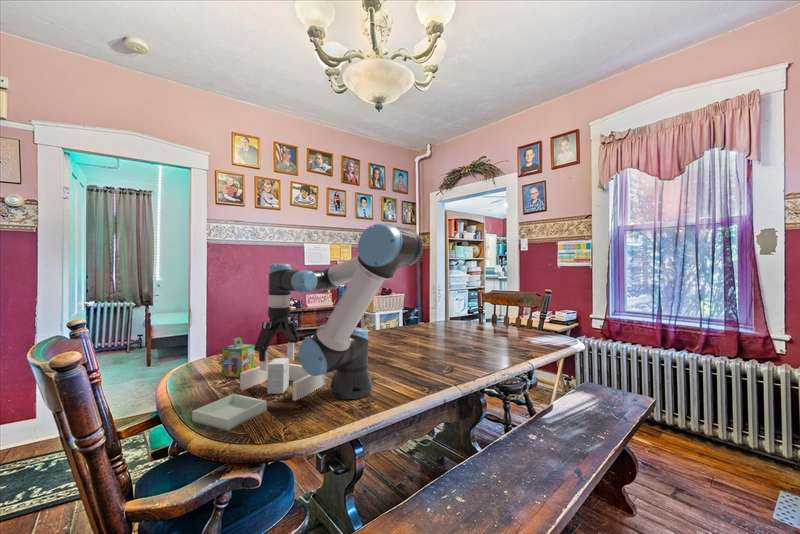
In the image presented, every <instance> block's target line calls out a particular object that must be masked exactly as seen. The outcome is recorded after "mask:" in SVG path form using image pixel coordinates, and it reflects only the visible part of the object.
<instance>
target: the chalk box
mask: <svg viewBox="0 0 800 534" xmlns="http://www.w3.org/2000/svg"><path fill="white" fill-rule="evenodd" d="M238 341H239V343H237V342H238ZM255 345H256V344H248V343H243V341H242V337H236V338H233V344H230V345H228V346H225V347H222V348H221V349H222V350H221V351H222V355H221V356H222V360H221V362H222V363H221V364H222V367H221V369H222V370H221V376H224V378H226V377H228V378H238V379H240V373H242V372H244V371H247V370H250V369H253V368H256V367H255V366H256V362H255V361H256V351H255V350H254V348H255Z"/></svg>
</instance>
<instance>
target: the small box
mask: <svg viewBox="0 0 800 534" xmlns="http://www.w3.org/2000/svg"><path fill="white" fill-rule="evenodd" d="M268 363H269V364H268V380H267V394H268V395H274V394H275V395H277V394H281V393H282V394H284V393H285V391H286V390H287V389H288V387H289V383H290V382H289V381H290V380H289V364H290V360H289V358H287V357H274V358H273V359H272V360H271V361H270V362H268ZM282 394H281V395H282Z"/></svg>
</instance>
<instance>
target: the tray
mask: <svg viewBox="0 0 800 534" xmlns="http://www.w3.org/2000/svg"><path fill="white" fill-rule="evenodd" d="M267 402H268V401H267V400H264V399H260V398H255V397H250V396H246V395H242V394H241V395H240V394H236V393H232V394H230V395H227V396H225V397H222V398H220V399H217V400H215V401H212V402H210V403H208V404H205V405H203V406H201V407H198V408H196V409H193V410H192V411H191V412H192V413H191V414H192V415H191V418H192V419H191V420H192V421H191V422H192V423H197V424H199V425H200V424H201V425H205V426H207V427H213V428H215V429H219V430H222V429H223V431H227V432H229V431H230V430H232V429H234V428H237V427H238V426H240V425H242V424H244V423H246V422H247V421H248V422H249V421H250V420H252V419H254V418H255V417H257V416H259V415H261V414H263V413H265V412H267V411H268V410H267V409H268V408H267V405H268V403H267Z"/></svg>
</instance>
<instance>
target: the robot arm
mask: <svg viewBox="0 0 800 534" xmlns="http://www.w3.org/2000/svg"><path fill="white" fill-rule="evenodd" d="M358 238H359V239H358V240H357V241H358V242H357V247H358V249H357V253H358V256H355V257H353V258H350V259H347V260H344V261H343V262H339V263H337V264H335V265H333V266H331V267H330V266H329V267H328V268H325V269H292V265H291V264H290V263H271V264H270V265H269V271H268V306H269V307H268V308H267V317H268V318H269V321H263V322H261V328H260V329H261V330H260V331H259V335H258V336H257V340H256V342H255V344H254V345H255V348H254V350H255V352H258V361H259V366H260V370H264V371H267V370H268V363H269V352H268V348H269V346H270V345H271V342H272V340H273V339H274V338H275V336H276V335H277V334H279V333H280V332H282V333H283V335H284V336H285V337H286V339H287V340H288V342H287V351H286V353H287V356H286V358H289V361H295V350H296V343H299V340H300V334H299V332H298V330H297V326H296V323H295V317H293V316H291V307H290V305H291V292H297V293H300V294H302V293H303V294H304V293H312V292H316V291H326V290H327V291H331V290H335V289H338V288H339V287H340V286H341V285H344V284H347V283H348V284H347V286H346V288H345V289H344V291H343V292H342V295H341V296H340V298H339V300H338V302H337V304H336V305H335V307H334V309H333V311H332V312H331V314H330V315H329V318H328V319H327V320H326V323H325V324H321V325H320V326H318V327H317V329H316V331H315V333H314V334H313V336H312V337H311V338H306V339H305V340H303V341H302V342H301V343H300V345H299V347H298V359H299V363H300V365H302V367H303V369H304V370H305V371H306V372H307V373H308V374H309V375H312V376H318V375H324V374H325V375H326V374H328V373H330V372H334V373H333V376H332V379H331V383H330V385H329V394H330V396H331V397H333V398H334V399H340V400H345V399H353V400H359V399H358V398H360V399H363V397H364V398H366V397H369V396H370V395H371V394H372V393H371V392H373V383H372V378H371V376H370V373H369V366H368V365H369V332H368V330H367V329H366V328H364V327H357V326H358V324H359V323H360V321H361V319H362V317H363V316H364V315H365V313H366V311H367V310H368V308H369V306H370V304H371V303H372V301H373V300H374V298H375V296H376V295H377V293H378V292H379V290H380V288H381V287H382V285H383V283H384V281H389V280H391V279H393V277H394V276H395V274H396V272H397V270H399V269H401V268H403V267H404V268H405V267H408V266H409V267H410V266H412V265H414V264H416V263H417V262H419V260H420V259H421V257H422V254H423V251H424V245H423V241H422V237H421V236H420V235H419V234H418V233H417V232H416V231H415V230H413V229H411V228H407V227H401V226H397V225H393V224H390V223H375V224H372V225H370V226H368V227H367V228H365V230H364V231H362V233H361V234H360V237H358ZM370 393H371V394H370ZM369 394H370V395H369ZM365 396H366V397H365Z"/></svg>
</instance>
